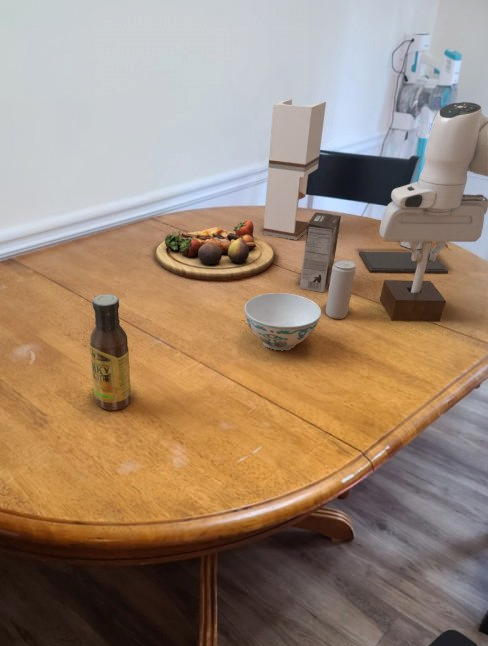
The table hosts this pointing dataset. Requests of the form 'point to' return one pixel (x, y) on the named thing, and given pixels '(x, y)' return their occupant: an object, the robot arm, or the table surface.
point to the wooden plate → (215, 253)
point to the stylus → (421, 267)
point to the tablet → (398, 263)
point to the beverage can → (340, 289)
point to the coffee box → (319, 251)
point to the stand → (412, 301)
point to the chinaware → (281, 319)
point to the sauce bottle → (109, 355)
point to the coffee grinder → (291, 165)
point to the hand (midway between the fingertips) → (422, 260)
